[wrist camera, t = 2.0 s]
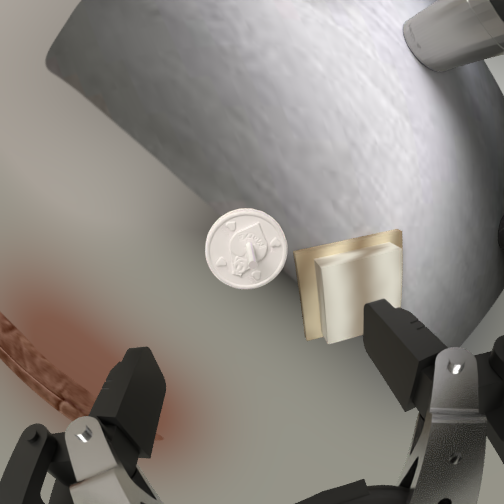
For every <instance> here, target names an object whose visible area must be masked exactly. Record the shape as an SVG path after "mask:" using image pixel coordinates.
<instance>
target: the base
mask: <svg viewBox="0 0 504 504" xmlns="http://www.w3.org/2000/svg"><path fill="white" fill-rule="evenodd" d="M293 253H294V260H295V266H296V273H297V280H298V287H299V294H300V301H301V308H302V317H303V324H304V333H305V337H306V340H307V341H309V340H313V339H317V338H321V337H324V338H325V340H326V342H327V344H332V343H335V342H339V341H342V340H346V339H350V338H353V337H356V336H360V335H363V321H364V305H365V304H366V303H370V302H373V301H376V300H380V299H386V300H387V301H388V302H389V303H390V304H391V305H392V306H393V307H394V308H398V307H400V308H401V295H402V261H403V254H402V231H401V230H398V229H395V230H390V231H386V232H381V233H376V234H372V235H367V236H362V237H358V238H353V239H349V240H344V241H339V242H334V243H330V244H325V245H320V246H316V247H311V248H306V249H301V250H297V251H293Z"/></svg>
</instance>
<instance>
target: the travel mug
mask: <svg viewBox="0 0 504 504" xmlns="http://www.w3.org/2000/svg"><path fill="white" fill-rule="evenodd" d="M498 241H499V245H500V247H501V248H502V249H504V216H503V218H502V220H501V222H500V226H499V231H498Z"/></svg>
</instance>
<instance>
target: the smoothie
mask: <svg viewBox="0 0 504 504" xmlns="http://www.w3.org/2000/svg"><path fill="white" fill-rule="evenodd" d="M205 254H206V260H207V263H208V266H209V268H210V270H211V271H212V272H213V274H214V275H215V276H216V277H217V278H218V279H219V280H220V281H221V282H223V283H225V284H226V285H228V286H231V287H234V288H237V289H254V288H258V287H261V286H264V285H266V284H267V283H269V282H271V281H272V280H273V279H274V278H275V277H276V276H277V275H278V274H279V273H280V271H281V270H282V268H283V266H284V264H285V261H286V258H287V241H286V238H285V235H284V232H283V231H282V229H281V227H280V225H279V224H278V223H277V222H276V221H275V220H274V219H273V218H272V217H271V216H269V215H268V214H266V213H264V212H262V211H259V210H255V209H237V210H234V211H230V212H228V213H227V214H225V215H223V216H222V217H220V218H219V219H218V220H217V221H216V222H215V223H214V225H213V226H212V227H211V229H210V231H209V233H208V236H207V240H206V247H205Z"/></svg>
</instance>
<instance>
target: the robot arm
mask: <svg viewBox="0 0 504 504" xmlns="http://www.w3.org/2000/svg"><path fill="white" fill-rule="evenodd" d="M403 33H404V37H405V40H406V42H407V44H408V46H409V48H410V49H411V51H412V52H413V54H414V55H415V56H416V57H417V58H418V59H419V60H420V62H422V63H423V64H424V65H425V66H427V67H428V68H430V69H432V70H434V71H437V72H444V71H447V70H450V69H453V68H456V67H459V66H463V65H466V64H470V63H473V62H476V61H480V60H484V59H487V58H491V57H495V56H499V55H504V0H438V1H436V2H434V3H433V4H431V5H430V6H428V7H427V8H425V9H424V10H422V11H420V12H419V13H417V14H416V15H415V16H413V17H412V18H410V19H409V20H407V21H406V22H405V24H404V27H403ZM363 342H364V346H365V349H366V352H367V353H368V355H369V356H370V358H371V359H372V361H373V363H374V364H375V366H376V367H377V369H378V370H379V372H380V373H381V375H382V376H383V378H384V379H385V381H386V382H387V384H388V385H389V387H390V389H391V390H392V392H393V393H394V395H395V397H396V398H397V400H398V401H399V403H400V404H401V406H402V408H403V409H404V411H405V412H406V411H409V410H411V409H413V408H415V407H416V408H417V409H418V411H419V414H418V417H417V421H416V426H415V430H414V434H413V438H412V442H411V445H410V449H409V452H408V456H407V459H406V462H405V465H404V467H403V469H402V471H401V474H400V476H399V479H398V481H397V484H396V486H392V485H376V486H367V485H366V483H365V480H364V479H362V480H359V481H356V482H353V483H350V484H347V485H343V486H340V487H337V488H333V489H330V490H326V491H322V492H320V493H318V494H316V495H314V496H312V497H310V498H307V499H305V500H303V501H300V502H298V503H295V504H477V501H478V496H479V491H480V486H481V480H482V474H483V467H484V459H485V449H486V436H487V437H488V439H489V440H490V442H491V444H492V445H493V447H494V448H495V450H496V452H497V453H498V455H499V457H500V458H501V460H502V462H503V464H504V335H503V336H501V337H499V338H497V340H496V342H495V343H494V346H493V349H492V351H490V352H487V353H483V354H479V355H473V354H472V353H471V352H470V351H468V350H466V349H463V348H459V347H452V348H448V347H447V346H446V345H445V344H443V343H442V342H441V341H440V340H439V339H438V338H437V337H436V336H435V335H434V334H433V333H432V332H431V331H430V330H429V329H428V328H427V327H425V325H424V324H423V323H422V322H420V321H418V319H417V318H416V317H415V316H414V315H413V314H412V313H411V312H409V311H407V310H404V309H402V308H400V307H398V308H394V307H393V306H392V305H391V304H390V303H389V302H388V301H387V300H386V299H380V300H376V301H373V302H370V303H366V304H365V305H364V321H363ZM165 393H166V383H165V379H164V376H163V374H162V372H161V370H160V368H159V366H158V364H157V362H156V360H155V358H154V356H153V354H152V352H151V350H150V349H149V348H148V347H138V348H129V349H128V350H127V352H126V354H125V356H124V358H123V360H122V362H119V363H118V364H117V365H116V366H115V367H114V368H113V369H112V370H111V371H110V373H109V375H108V377H107V379H106V382H105V383H104V385H103V387H102V390H101V391H100V393H99V395H98V397H97V399H96V401H95V403H94V405H93V407H92V409H91V412H90V414H89V416H85V417H80V418H78V419H76V420H74V421H73V422H72V423H71V424H70V425H69V426H68V428H67V430H66V432H62V433H55V434H51V433H50V432H49V431H48V430H47V428H46V427H45V426H44V425H42V424H33V425H31V426H29V427H27V428H26V429H25V430H24V431H23V433H22V435H21V437H20V439H19V441H18V443H17V445H16V447H15V449H14V451H13V453H12V456H11V458H10V460H9V462H8V464H7V467H6V469H5V471H4V474H3V477H2V479H1V481H0V504H45V503H44V502H43V501H42V499H41V496H40V492H41V488H42V485H43V482H44V479H45V476H46V473H47V472H48V473H50V474H51V475H52V476H53V477H54V478H56V480H55V483H54V487H53V490H52V493H51V497H50V500H49V504H164V503H163V502H162V501H161V499H160V498H159V496H158V495H157V493H156V492H155V490H154V489H153V488H152V486H151V484H150V483H149V481H148V480H147V478H146V477H145V475H144V473H143V472H142V470H141V469H140V467H139V466H138V465H137V460H138V458H151V453H152V448H153V444H154V439H155V435H156V430H157V426H158V422H159V417H160V413H161V409H162V405H163V401H164V397H165Z"/></svg>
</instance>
